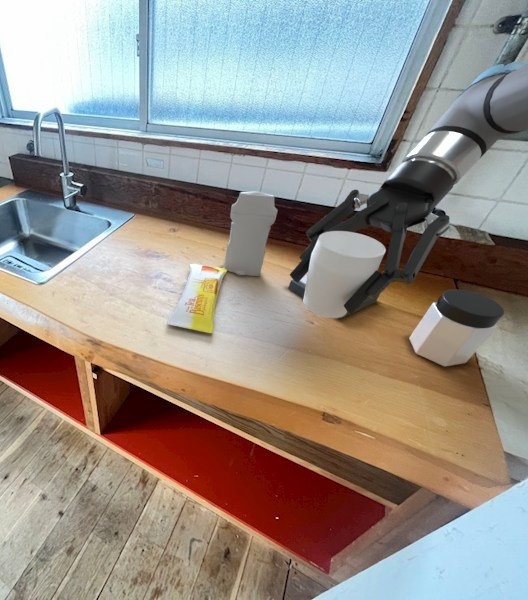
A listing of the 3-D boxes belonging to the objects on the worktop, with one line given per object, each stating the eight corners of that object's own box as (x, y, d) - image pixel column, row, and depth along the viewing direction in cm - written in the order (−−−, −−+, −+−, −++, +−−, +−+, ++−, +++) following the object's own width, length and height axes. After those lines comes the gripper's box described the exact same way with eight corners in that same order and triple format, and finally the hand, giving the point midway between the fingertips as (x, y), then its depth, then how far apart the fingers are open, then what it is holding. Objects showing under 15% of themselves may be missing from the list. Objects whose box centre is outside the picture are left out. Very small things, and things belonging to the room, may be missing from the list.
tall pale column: (262, 271, 88) (282, 191, 75) (260, 279, 85) (281, 197, 72) (223, 264, 92) (235, 186, 79) (220, 271, 89) (232, 192, 76)
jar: (436, 333, 67) (471, 286, 59) (476, 362, 60) (521, 313, 53) (397, 339, 66) (428, 291, 59) (434, 369, 59) (474, 320, 52)
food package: (213, 329, 67) (166, 320, 70) (211, 337, 68) (166, 328, 71) (227, 265, 87) (191, 260, 90) (226, 272, 88) (190, 266, 91)
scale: (375, 302, 76) (381, 291, 74) (339, 319, 71) (344, 309, 69) (322, 274, 86) (326, 264, 84) (288, 288, 81) (291, 278, 79)
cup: (360, 304, 55) (393, 241, 48) (345, 331, 50) (379, 265, 43) (306, 285, 60) (327, 225, 53) (287, 308, 55) (308, 245, 48)
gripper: (520, 211, 42) (392, 340, 46) (359, 172, 58) (273, 271, 62) (531, 177, 37) (386, 325, 41) (351, 144, 53) (259, 254, 57)
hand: (318, 293), depth 51 cm, fingers closed on cup, 9 cm apart
